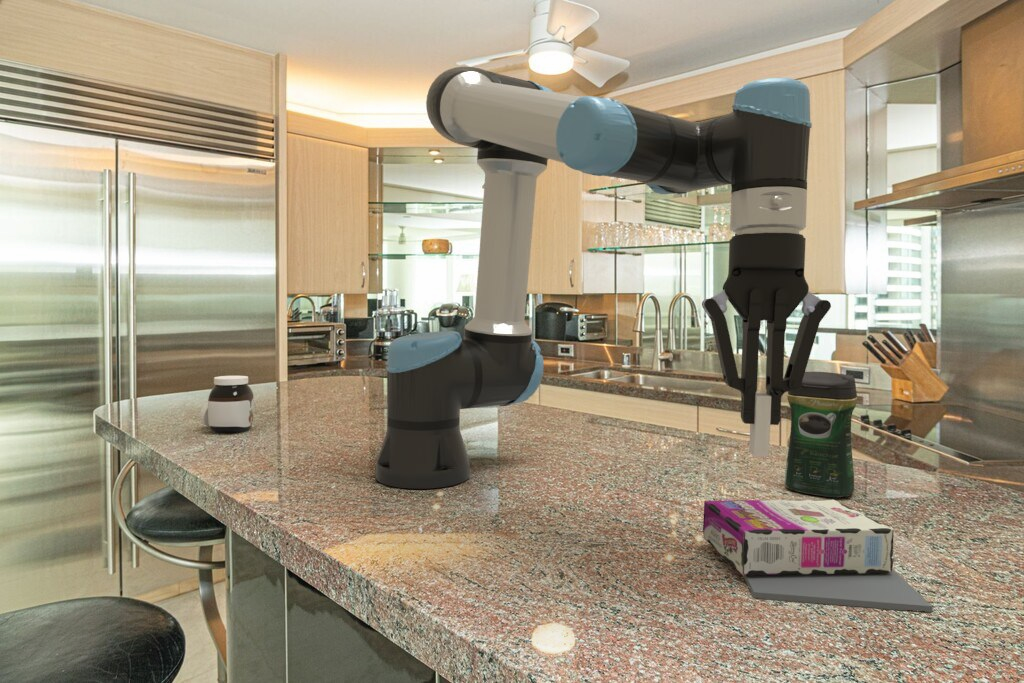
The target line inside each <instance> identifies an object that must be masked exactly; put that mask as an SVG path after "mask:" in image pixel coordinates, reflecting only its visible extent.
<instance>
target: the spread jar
mask: <svg viewBox="0 0 1024 683" xmlns="http://www.w3.org/2000/svg"><path fill="white" fill-rule="evenodd" d="M213 384H214V386H213V388H212V389H211V391H210V393H209V394H208V399H207V400H208V401H207V402H205V403H204V405H203V406H202V408H201V410H200V414H199V418H200V422H201V423H202V424H203V425H205V426H207V427H209V429H210V431H212V432H213V433H215V434H219V435H220V434H221V435H233V434H234V435H235V434H242V433H246V432H248V431H250V429H251V428H252V425H253V423H254V419H255V418H254V417H255V415H254V414H255V403H254V402H255V399H254V398H255V397H254V392H253V389H252V388H251V386H249V376H248V375H220V376H215V377H213Z"/></svg>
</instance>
